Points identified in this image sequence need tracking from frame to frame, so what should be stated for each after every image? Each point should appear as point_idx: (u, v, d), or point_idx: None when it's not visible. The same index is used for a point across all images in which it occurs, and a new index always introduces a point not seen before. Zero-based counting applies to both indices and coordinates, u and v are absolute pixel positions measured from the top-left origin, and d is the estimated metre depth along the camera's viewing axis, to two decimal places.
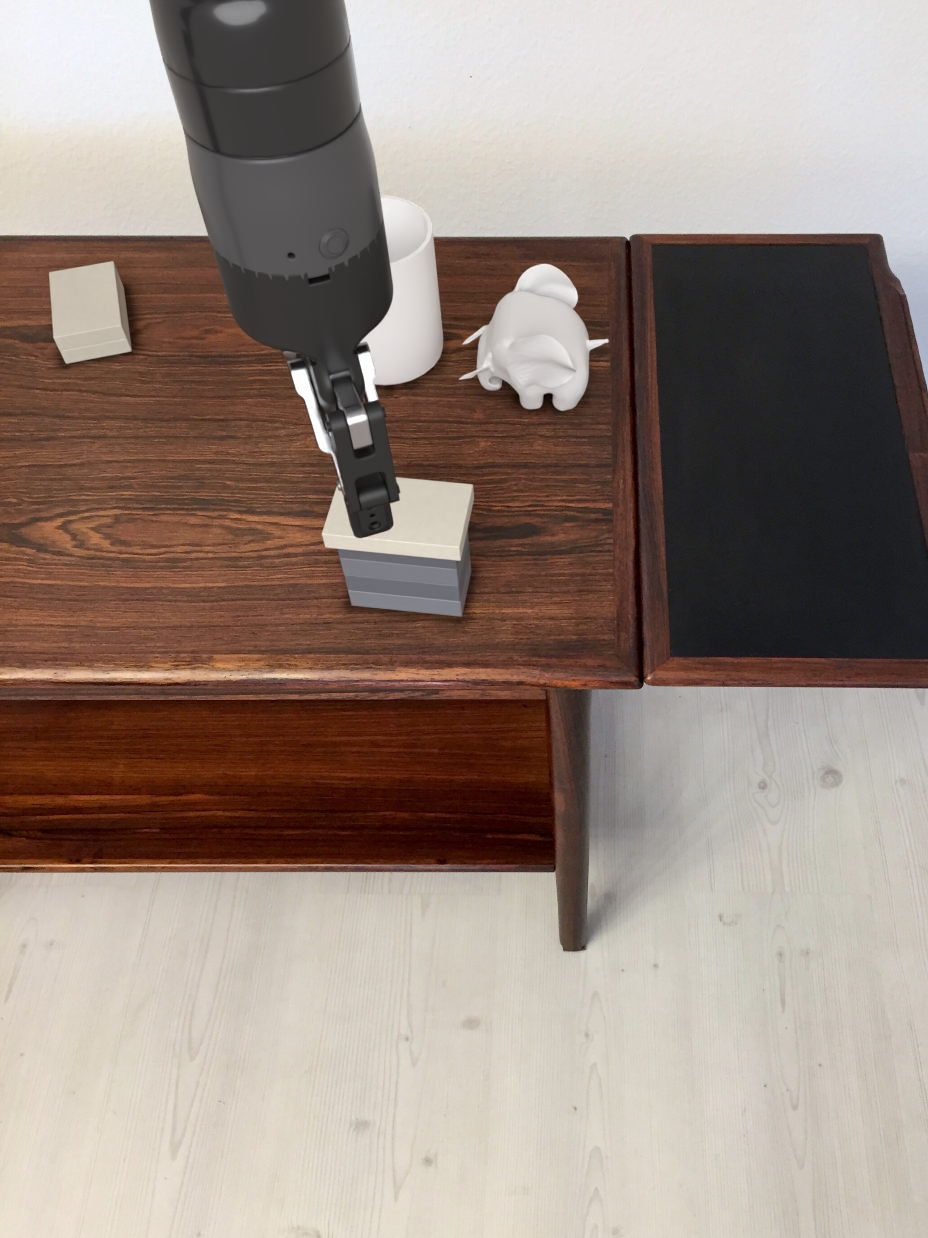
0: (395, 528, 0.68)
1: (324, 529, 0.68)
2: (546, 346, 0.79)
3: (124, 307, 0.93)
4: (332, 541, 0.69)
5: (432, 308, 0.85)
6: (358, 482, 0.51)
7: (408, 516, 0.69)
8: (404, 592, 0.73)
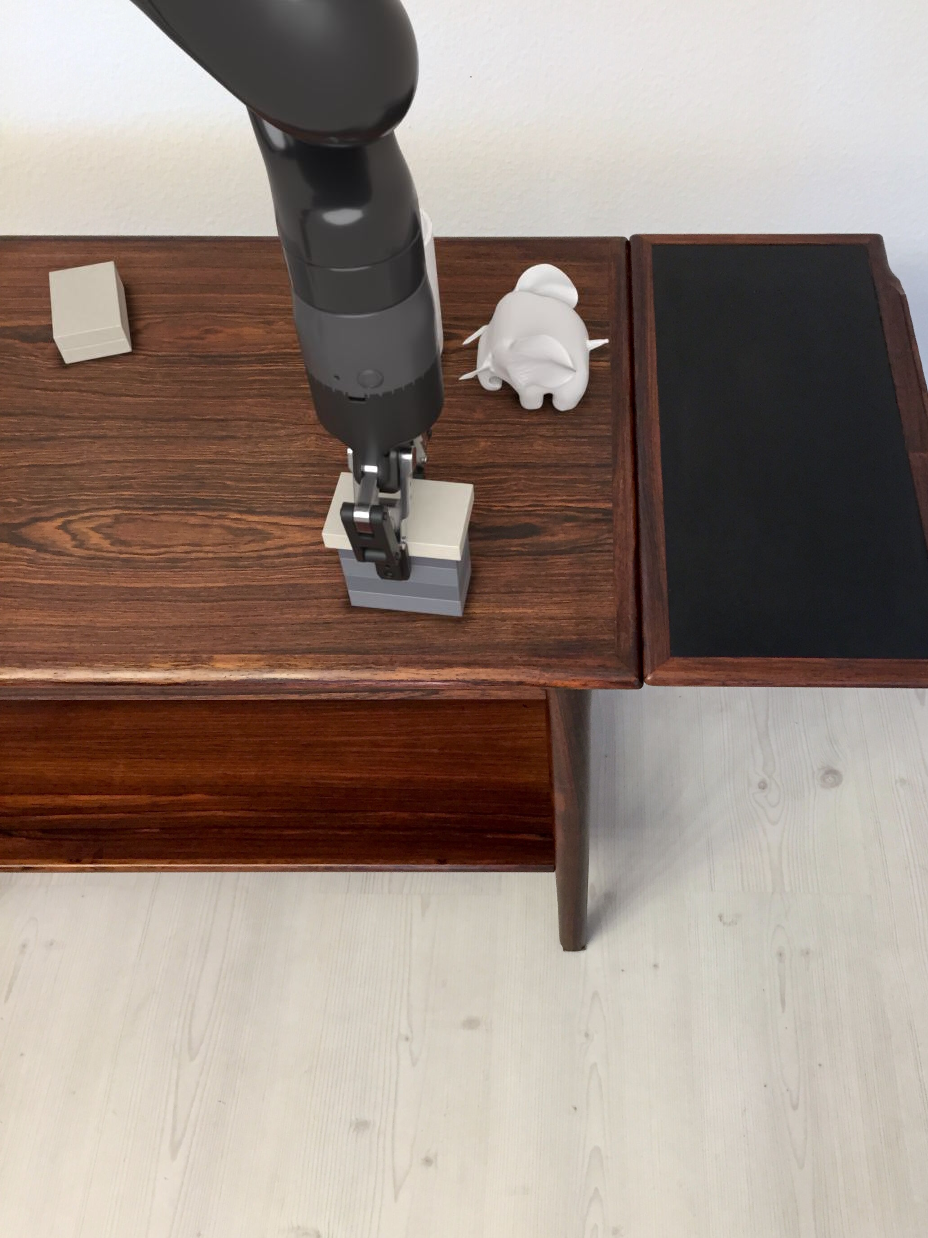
0: None
1: (324, 529, 0.68)
2: (546, 346, 0.79)
3: (124, 307, 0.93)
4: (332, 541, 0.69)
5: None
6: None
7: (408, 516, 0.69)
8: (404, 592, 0.73)
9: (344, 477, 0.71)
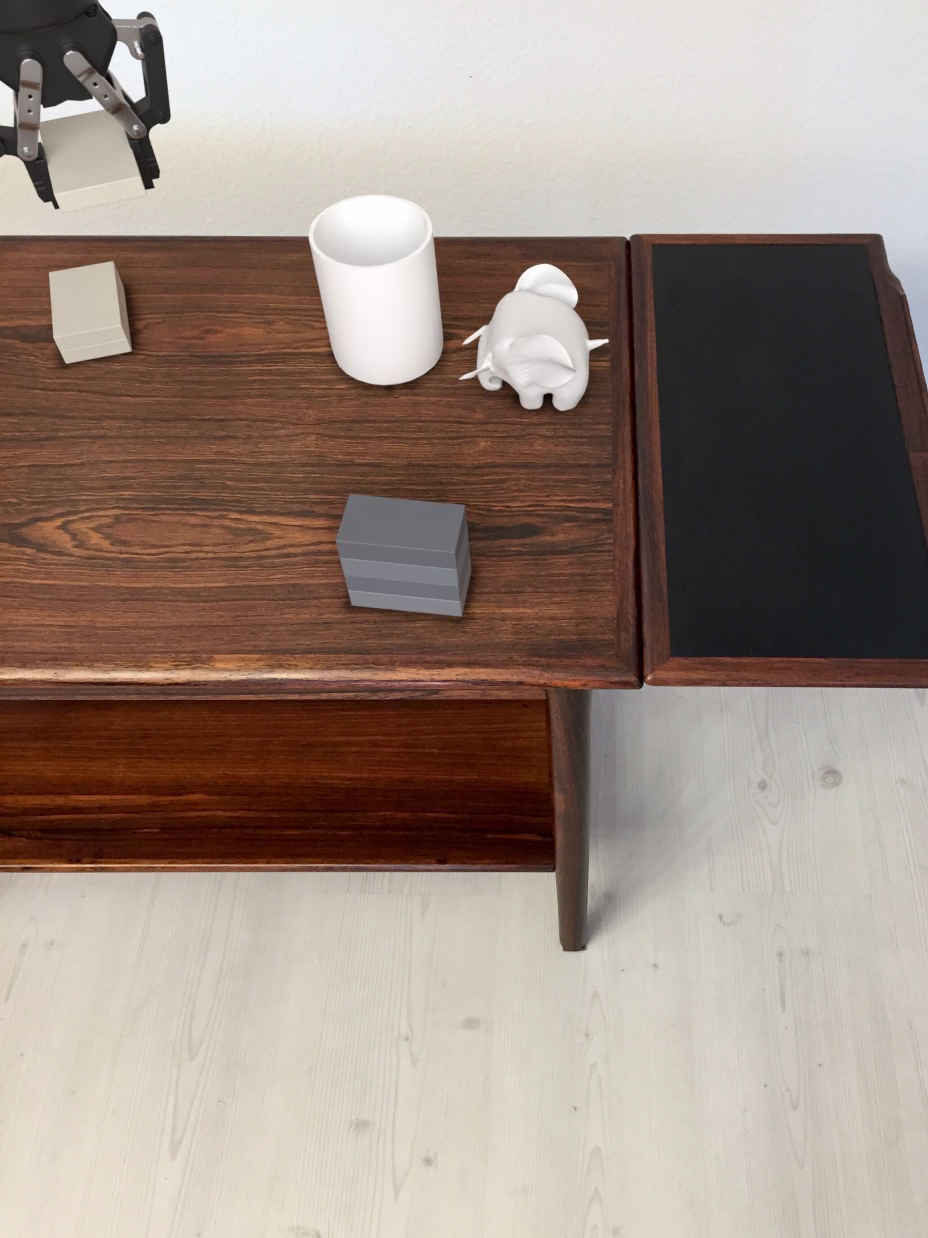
0: (61, 154, 0.70)
1: (43, 121, 0.72)
2: (546, 346, 0.79)
3: (124, 307, 0.93)
4: None
5: (432, 308, 0.85)
6: (0, 127, 0.68)
7: (80, 156, 0.70)
8: (404, 592, 0.73)
9: None
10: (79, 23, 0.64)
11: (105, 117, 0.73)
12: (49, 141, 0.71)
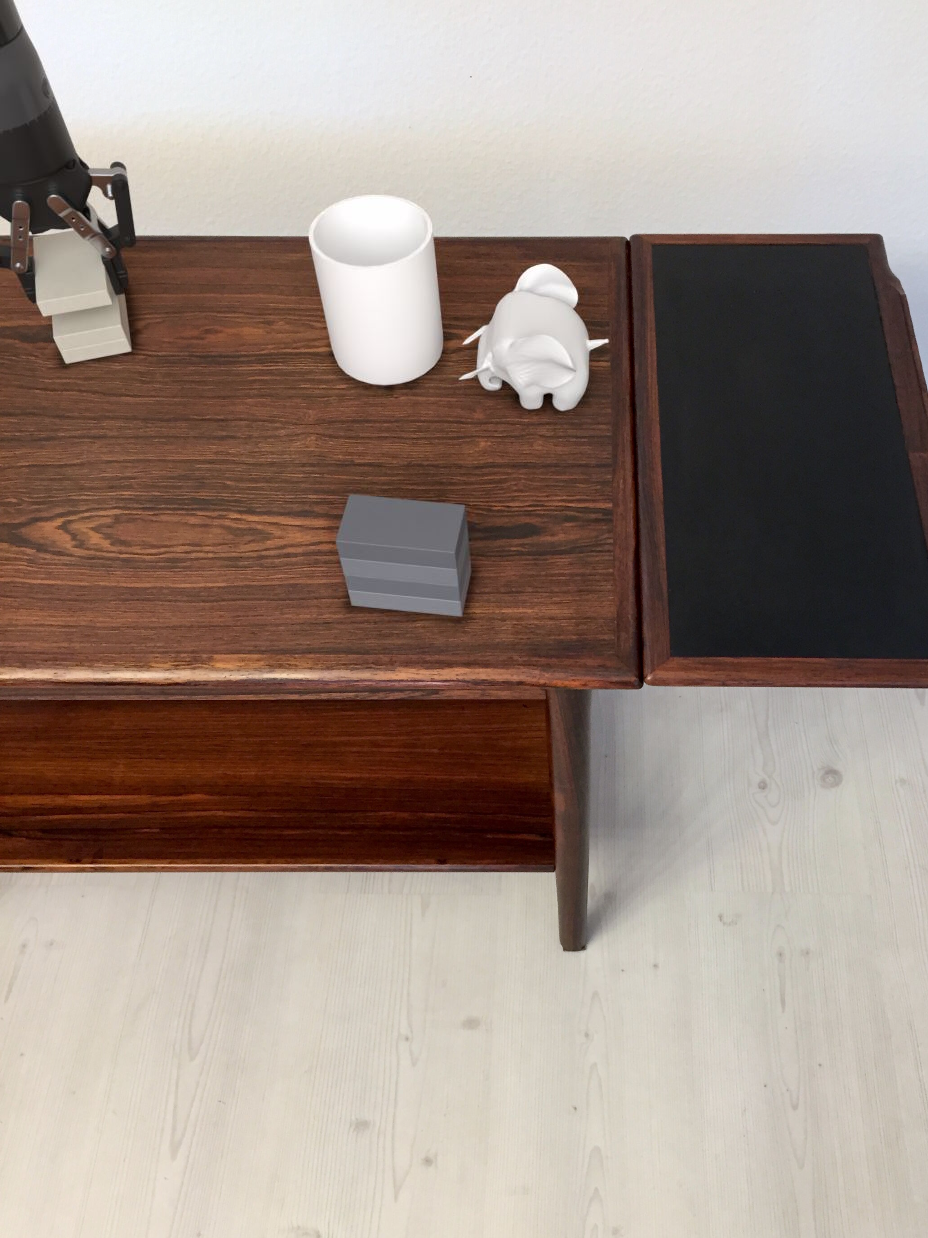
0: (47, 267, 0.87)
1: (37, 236, 0.89)
2: (546, 346, 0.79)
3: (124, 307, 0.93)
4: None
5: (432, 308, 0.85)
6: None
7: (62, 269, 0.87)
8: (404, 592, 0.73)
9: None
10: (60, 174, 0.80)
11: None
12: (39, 254, 0.88)
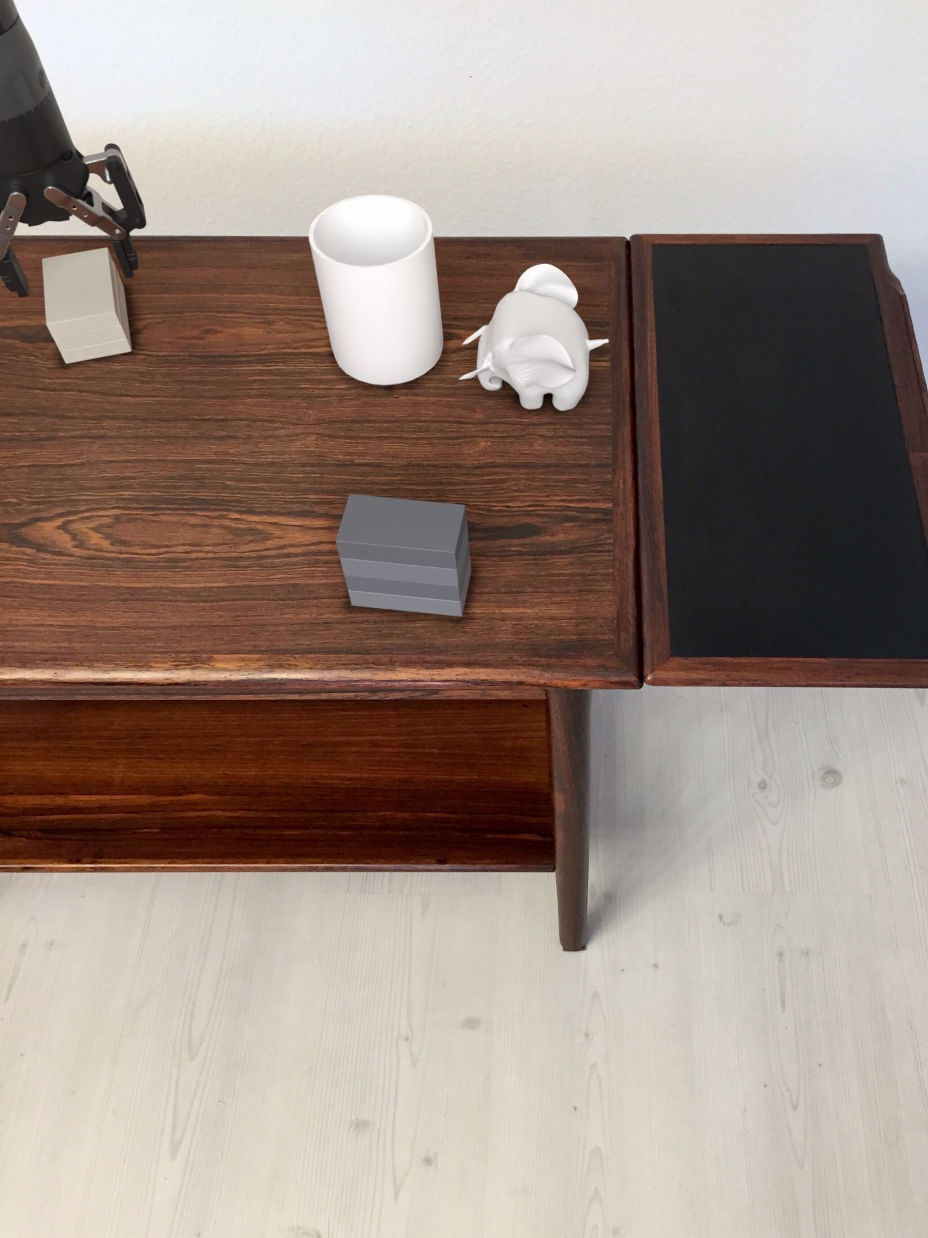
0: (56, 289, 0.89)
1: None
2: (546, 346, 0.79)
3: (124, 307, 0.93)
4: None
5: (432, 308, 0.85)
6: None
7: (70, 291, 0.88)
8: (404, 592, 0.73)
9: (102, 250, 0.92)
10: (57, 165, 0.80)
11: (95, 256, 0.91)
12: (49, 276, 0.89)
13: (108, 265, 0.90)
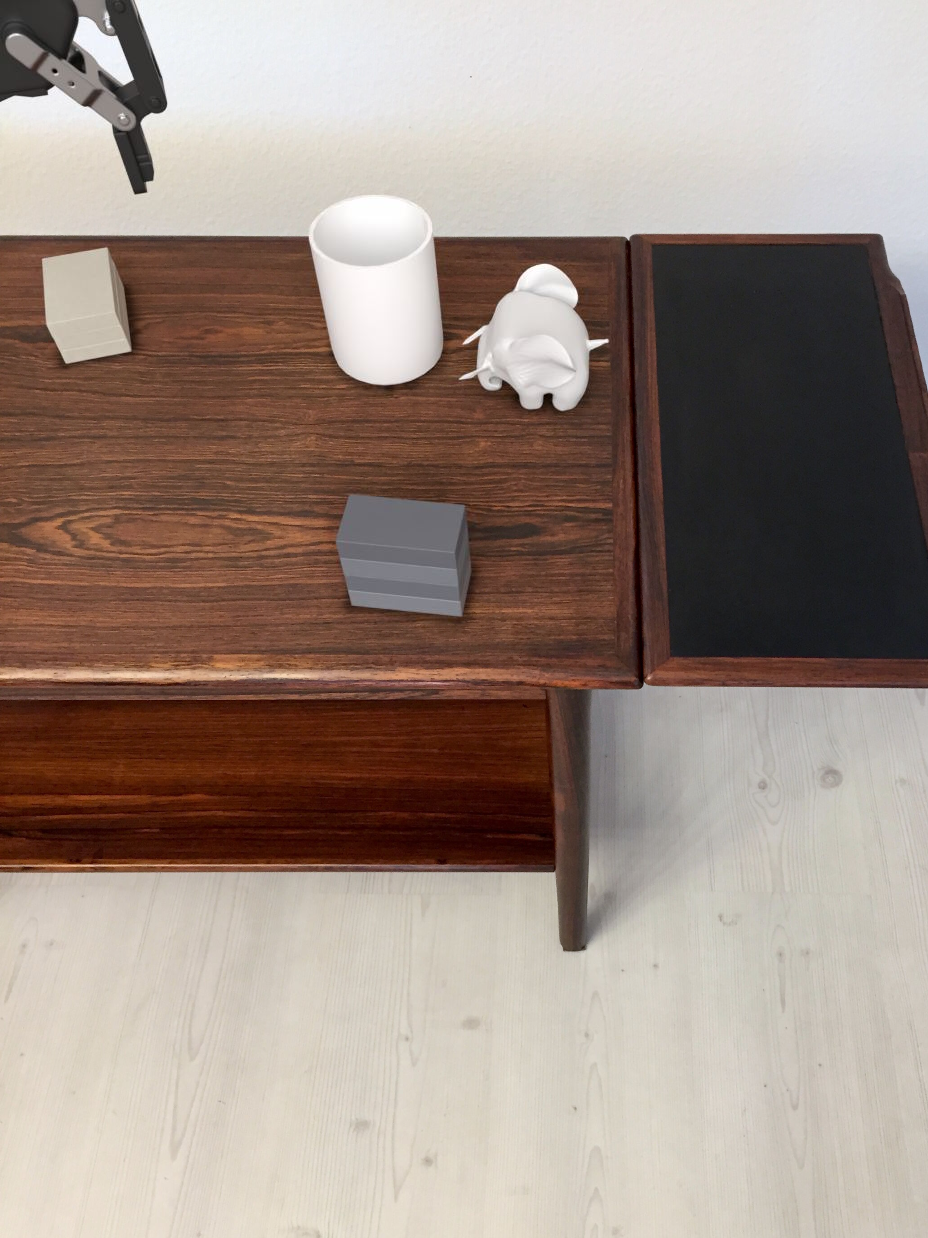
0: (56, 289, 0.89)
1: (46, 258, 0.91)
2: (546, 346, 0.79)
3: (124, 307, 0.92)
4: None
5: (432, 308, 0.85)
6: None
7: (70, 291, 0.88)
8: (404, 592, 0.73)
9: (101, 250, 0.92)
10: None
11: (95, 256, 0.91)
12: (49, 276, 0.89)
13: (108, 265, 0.90)
